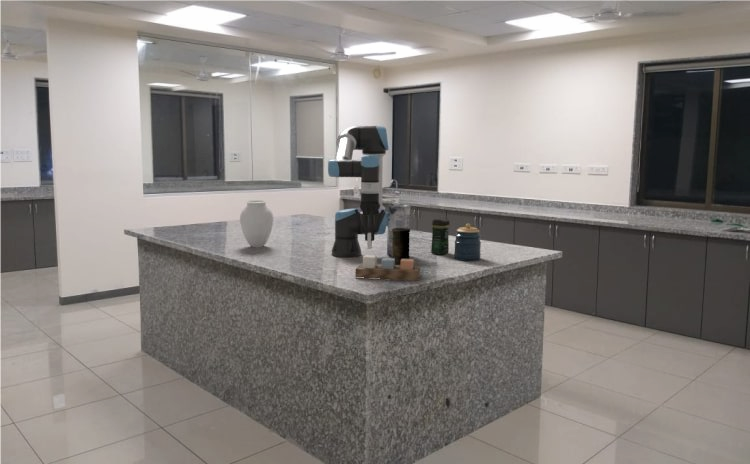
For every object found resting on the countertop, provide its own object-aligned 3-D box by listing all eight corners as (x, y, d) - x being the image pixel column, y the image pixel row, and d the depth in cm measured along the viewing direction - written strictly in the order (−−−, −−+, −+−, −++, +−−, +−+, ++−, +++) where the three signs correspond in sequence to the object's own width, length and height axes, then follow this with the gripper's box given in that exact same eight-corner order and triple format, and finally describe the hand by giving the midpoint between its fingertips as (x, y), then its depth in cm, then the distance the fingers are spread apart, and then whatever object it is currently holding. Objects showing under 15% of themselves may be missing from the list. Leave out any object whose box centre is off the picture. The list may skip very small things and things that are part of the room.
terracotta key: (400, 275, 240) (400, 260, 239) (401, 272, 245) (401, 258, 244) (412, 275, 239) (412, 261, 238) (413, 273, 244) (413, 259, 243)
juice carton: (410, 255, 293) (412, 202, 289) (397, 258, 286) (399, 204, 281) (397, 252, 299) (399, 201, 295) (384, 255, 291) (385, 202, 287)
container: (389, 266, 265) (389, 227, 263) (408, 265, 266) (409, 227, 264) (391, 270, 256) (392, 230, 254) (411, 270, 257) (412, 230, 255)
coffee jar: (442, 255, 293) (443, 219, 290) (428, 254, 297) (429, 218, 294) (451, 252, 301) (452, 217, 298) (437, 251, 305) (438, 216, 302)
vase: (270, 249, 307) (269, 203, 303) (237, 249, 307) (235, 202, 303) (276, 244, 324) (275, 200, 321) (245, 243, 324) (243, 199, 321)
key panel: (355, 278, 240) (355, 268, 239) (360, 272, 251) (360, 263, 250) (417, 280, 236) (417, 271, 235) (419, 275, 247) (420, 266, 246)
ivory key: (362, 271, 242) (362, 257, 241) (364, 268, 247) (364, 255, 246) (374, 271, 241) (374, 257, 240) (376, 269, 246) (376, 255, 245)
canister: (464, 255, 294) (465, 221, 292) (485, 258, 285) (487, 223, 282) (448, 258, 285) (449, 223, 282) (470, 262, 276) (471, 225, 273)
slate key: (381, 274, 241) (381, 260, 240) (383, 271, 246) (383, 258, 245) (393, 274, 240) (393, 260, 239) (394, 272, 245) (394, 258, 244)
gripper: (352, 192, 237) (352, 249, 240) (384, 193, 235) (383, 250, 238) (356, 191, 244) (356, 246, 247) (386, 192, 242) (386, 247, 245)
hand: (369, 248), depth 243 cm, fingers closed
